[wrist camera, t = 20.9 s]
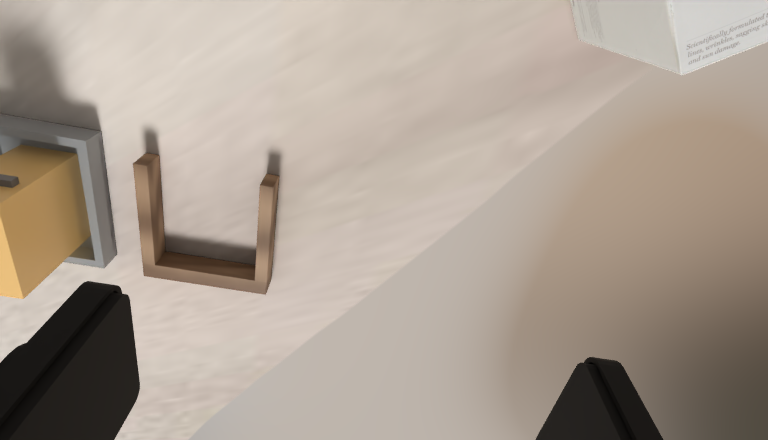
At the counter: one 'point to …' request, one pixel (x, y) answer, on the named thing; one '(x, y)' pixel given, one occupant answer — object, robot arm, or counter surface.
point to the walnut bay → (196, 267)
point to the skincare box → (673, 29)
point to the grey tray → (88, 145)
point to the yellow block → (38, 215)
